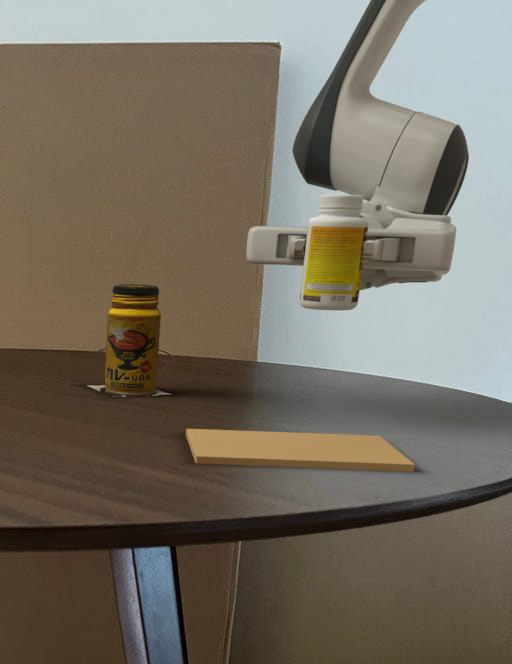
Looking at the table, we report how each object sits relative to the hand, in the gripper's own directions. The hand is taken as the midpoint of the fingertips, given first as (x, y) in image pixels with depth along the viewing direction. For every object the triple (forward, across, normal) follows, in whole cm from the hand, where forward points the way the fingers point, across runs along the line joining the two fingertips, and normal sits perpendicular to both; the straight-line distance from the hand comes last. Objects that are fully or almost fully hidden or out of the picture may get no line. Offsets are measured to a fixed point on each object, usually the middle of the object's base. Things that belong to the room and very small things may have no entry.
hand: (333, 248), depth 98 cm
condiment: (-9, -24, +17) cm, 31 cm away
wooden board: (+15, +2, +17) cm, 23 cm away
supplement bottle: (-1, 0, +6) cm, 6 cm away
